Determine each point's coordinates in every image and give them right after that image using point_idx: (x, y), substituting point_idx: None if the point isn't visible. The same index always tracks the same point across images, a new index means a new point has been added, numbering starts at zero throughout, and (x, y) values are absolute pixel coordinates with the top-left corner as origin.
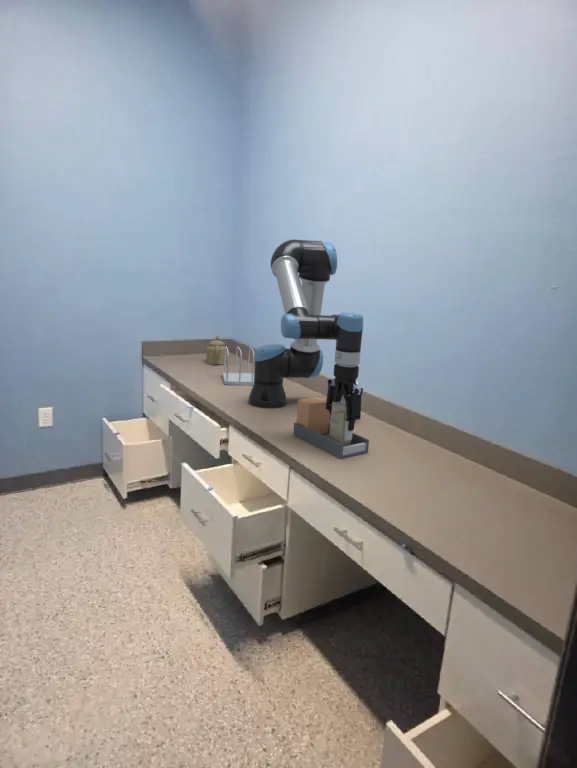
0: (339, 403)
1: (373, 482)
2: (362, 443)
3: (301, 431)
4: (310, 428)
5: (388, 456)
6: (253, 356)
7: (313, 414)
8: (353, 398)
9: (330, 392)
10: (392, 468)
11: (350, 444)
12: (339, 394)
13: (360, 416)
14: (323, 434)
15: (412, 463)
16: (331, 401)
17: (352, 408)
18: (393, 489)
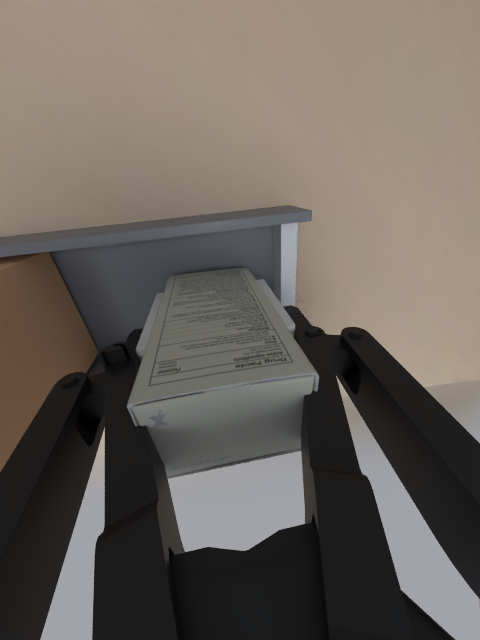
0: (210, 450)
1: (426, 326)
2: (288, 235)
3: None
4: (79, 359)
5: (359, 141)
6: None
7: (39, 399)
8: (442, 526)
9: (55, 579)
10: (424, 219)
11: (210, 235)
12: (176, 543)
13: (374, 338)
14: (64, 276)
15: (464, 91)
16: (79, 447)
17: (372, 428)
18: (477, 306)
